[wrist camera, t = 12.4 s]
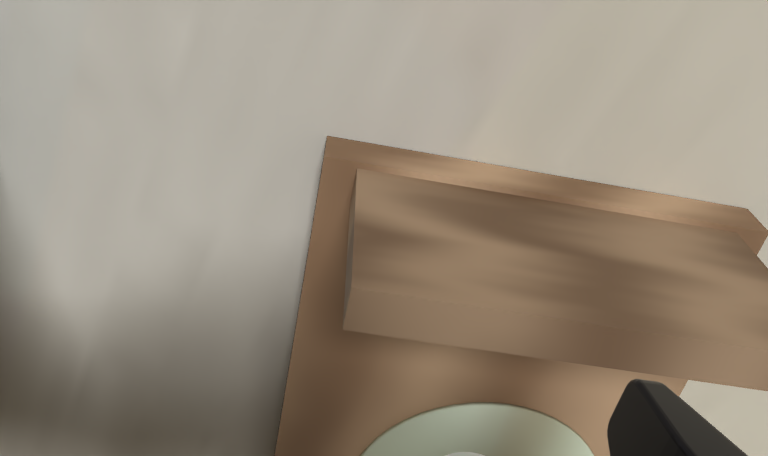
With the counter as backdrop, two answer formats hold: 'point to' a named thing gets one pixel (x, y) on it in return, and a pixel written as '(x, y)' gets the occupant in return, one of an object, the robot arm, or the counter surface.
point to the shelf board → (507, 307)
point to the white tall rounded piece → (464, 454)
